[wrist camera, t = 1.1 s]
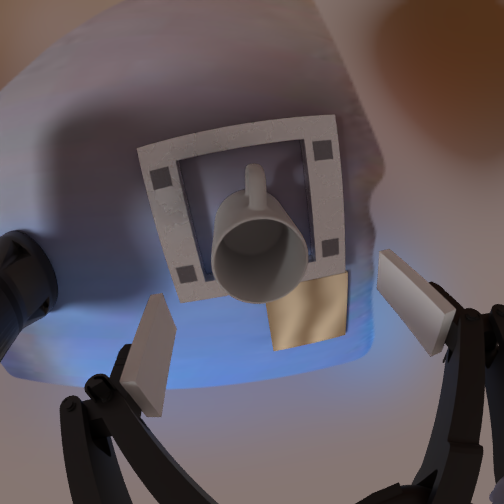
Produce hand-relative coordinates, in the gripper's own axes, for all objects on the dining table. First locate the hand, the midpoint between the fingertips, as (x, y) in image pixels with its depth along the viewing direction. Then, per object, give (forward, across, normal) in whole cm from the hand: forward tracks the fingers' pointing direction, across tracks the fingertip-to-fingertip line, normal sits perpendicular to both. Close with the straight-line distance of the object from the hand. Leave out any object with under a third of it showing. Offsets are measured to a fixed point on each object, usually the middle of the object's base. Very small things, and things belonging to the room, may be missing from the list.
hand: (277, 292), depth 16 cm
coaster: (+18, +6, -17) cm, 26 cm away
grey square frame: (+18, 0, 0) cm, 18 cm away
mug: (+19, 0, 0) cm, 19 cm away
